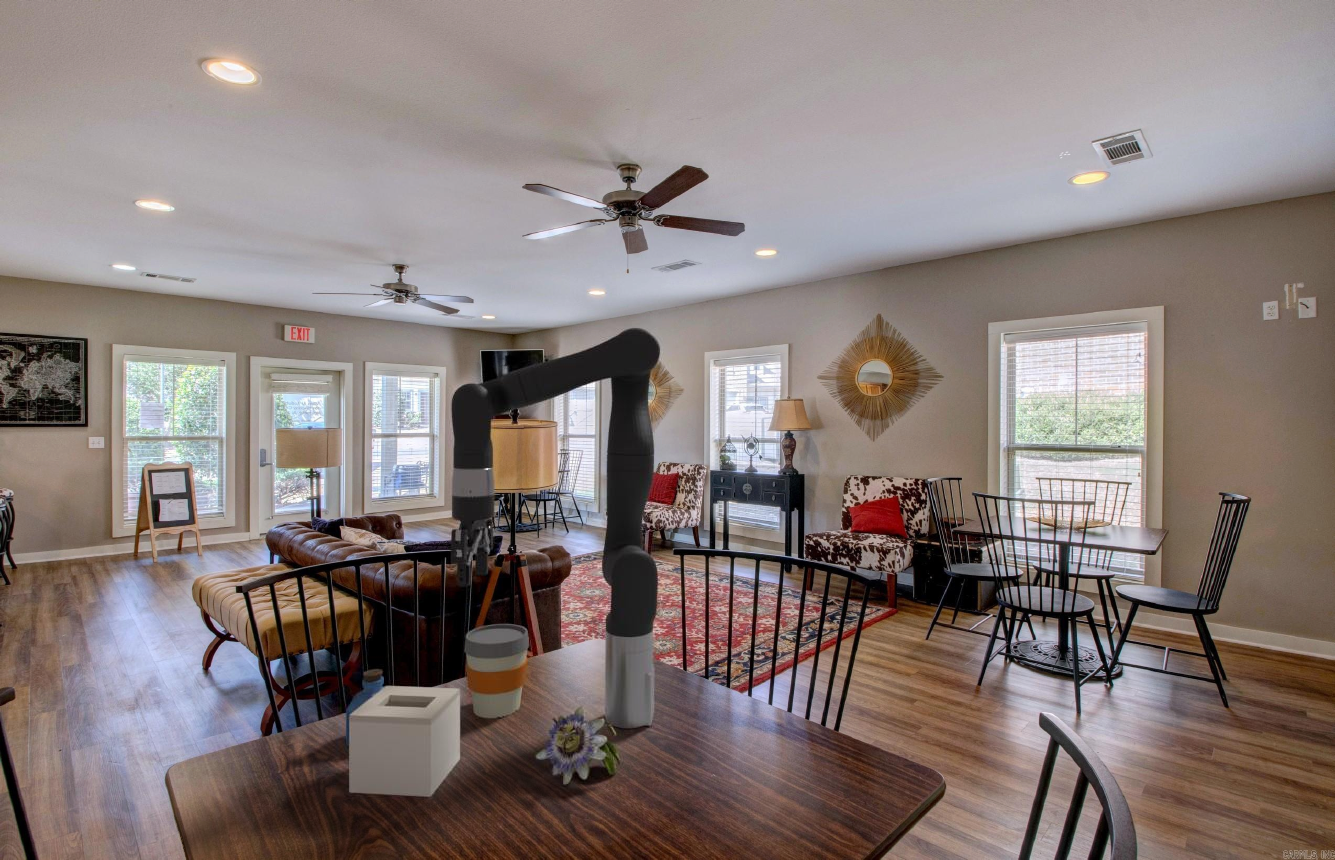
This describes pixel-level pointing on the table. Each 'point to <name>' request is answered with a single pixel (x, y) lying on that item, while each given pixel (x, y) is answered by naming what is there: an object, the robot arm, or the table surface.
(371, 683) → the perfume bottle
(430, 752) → the tissue box
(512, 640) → the reusable coffee cup
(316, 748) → the table surface
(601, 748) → the passion flower
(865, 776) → the table surface
